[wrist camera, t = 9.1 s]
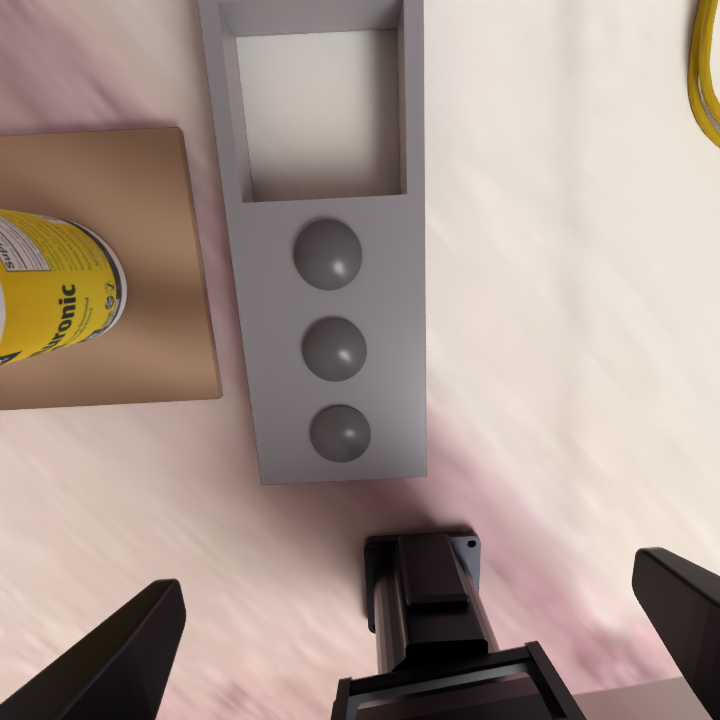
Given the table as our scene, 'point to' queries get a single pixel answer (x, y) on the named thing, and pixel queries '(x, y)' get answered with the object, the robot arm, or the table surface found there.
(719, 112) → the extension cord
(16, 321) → the supplement bottle
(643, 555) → the robot arm
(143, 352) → the walnut pad
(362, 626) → the table surface
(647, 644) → the table surface
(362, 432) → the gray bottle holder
